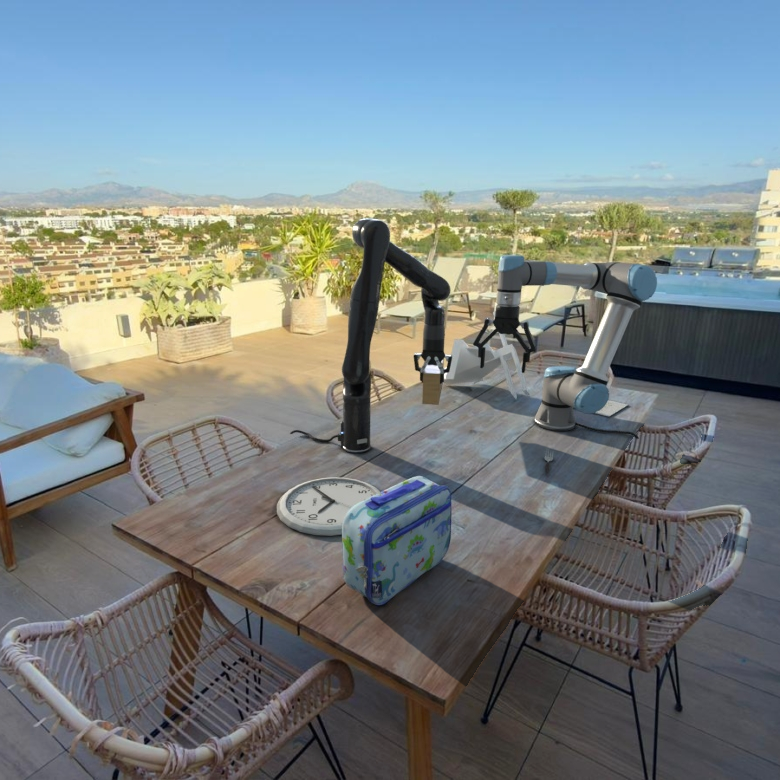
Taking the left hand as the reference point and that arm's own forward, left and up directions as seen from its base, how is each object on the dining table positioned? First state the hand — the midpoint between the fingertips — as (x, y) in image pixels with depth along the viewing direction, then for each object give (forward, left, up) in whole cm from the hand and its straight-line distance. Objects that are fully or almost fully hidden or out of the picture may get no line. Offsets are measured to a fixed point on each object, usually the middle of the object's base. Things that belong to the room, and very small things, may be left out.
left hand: (431, 382), depth 188 cm
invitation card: (+49, +68, -20) cm, 86 cm away
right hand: (+25, 0, +9) cm, 27 cm away
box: (-4, +9, -7) cm, 12 cm away
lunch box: (+32, -78, -20) cm, 87 cm away
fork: (+44, -3, -20) cm, 49 cm away
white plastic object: (-3, +58, -20) cm, 62 cm away
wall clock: (+1, -61, -20) cm, 64 cm away
